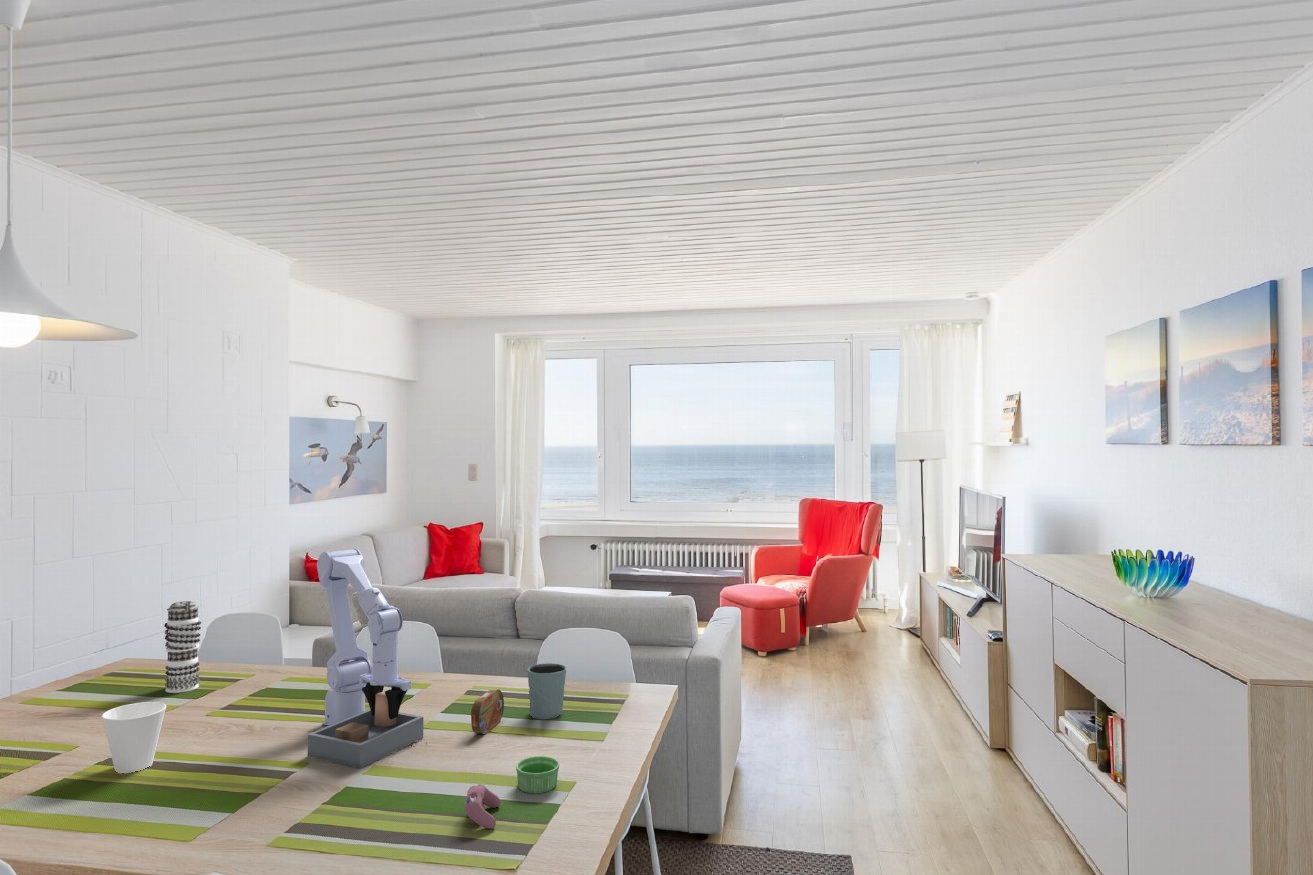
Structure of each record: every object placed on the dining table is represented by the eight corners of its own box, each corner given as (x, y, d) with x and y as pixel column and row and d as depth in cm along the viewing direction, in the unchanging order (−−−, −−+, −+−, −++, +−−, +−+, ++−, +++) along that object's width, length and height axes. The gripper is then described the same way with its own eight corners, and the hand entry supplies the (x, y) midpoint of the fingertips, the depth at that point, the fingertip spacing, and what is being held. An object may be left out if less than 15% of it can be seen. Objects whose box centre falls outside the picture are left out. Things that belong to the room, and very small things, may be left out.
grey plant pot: (520, 716, 200) (520, 670, 200) (540, 705, 210) (540, 661, 210) (554, 722, 196) (554, 675, 197) (572, 709, 206) (573, 664, 206)
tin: (480, 739, 185) (480, 704, 185) (468, 738, 186) (468, 703, 186) (505, 717, 200) (505, 685, 200) (493, 717, 200) (493, 684, 200)
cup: (95, 782, 160) (96, 723, 161) (105, 762, 171) (106, 706, 171) (162, 771, 166) (163, 714, 166) (168, 752, 176) (169, 698, 177)
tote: (307, 756, 174) (307, 734, 174) (373, 727, 192) (373, 707, 193) (360, 768, 168) (360, 745, 168) (423, 737, 186) (423, 716, 186)
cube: (335, 751, 175) (335, 729, 175) (352, 743, 179) (352, 722, 179) (351, 754, 172) (351, 732, 173) (368, 747, 177) (368, 725, 177)
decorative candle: (188, 693, 220) (189, 605, 220) (156, 693, 220) (157, 605, 220) (207, 683, 229) (208, 599, 229) (176, 683, 229) (177, 599, 229)
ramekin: (539, 799, 153) (539, 777, 153) (506, 788, 158) (506, 766, 158) (568, 783, 160) (568, 762, 161) (536, 773, 165) (536, 752, 166)
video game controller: (481, 814, 150) (465, 782, 150) (502, 802, 150) (486, 771, 150) (474, 839, 140) (457, 806, 140) (497, 827, 140) (480, 793, 140)
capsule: (369, 724, 184) (371, 695, 184) (384, 719, 189) (386, 690, 189) (385, 727, 182) (387, 697, 182) (400, 722, 187) (401, 692, 187)
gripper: (349, 660, 185) (349, 717, 184) (396, 667, 179) (395, 725, 178) (371, 653, 191) (371, 708, 191) (417, 659, 185) (416, 716, 185)
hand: (384, 716), depth 185 cm, fingers closed on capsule, 5 cm apart
